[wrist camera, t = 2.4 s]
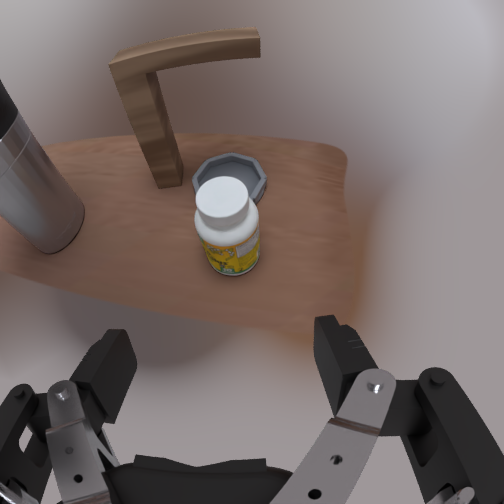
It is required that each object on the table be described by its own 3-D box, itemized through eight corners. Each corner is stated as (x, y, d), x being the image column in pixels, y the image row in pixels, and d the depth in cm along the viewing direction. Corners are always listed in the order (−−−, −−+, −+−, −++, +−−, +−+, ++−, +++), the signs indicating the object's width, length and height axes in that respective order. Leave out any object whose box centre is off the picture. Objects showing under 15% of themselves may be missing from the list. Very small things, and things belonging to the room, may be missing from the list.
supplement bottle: (270, 254, 29) (273, 196, 20) (231, 288, 28) (217, 240, 19) (235, 222, 31) (226, 159, 22) (197, 252, 29) (173, 196, 21)
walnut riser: (262, 176, 34) (259, 37, 18) (158, 188, 34) (108, 64, 18) (259, 157, 35) (255, 27, 19) (161, 168, 35) (119, 50, 19)
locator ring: (182, 201, 32) (179, 193, 31) (216, 155, 36) (215, 146, 34) (246, 224, 31) (245, 217, 29) (275, 172, 34) (276, 164, 33)
